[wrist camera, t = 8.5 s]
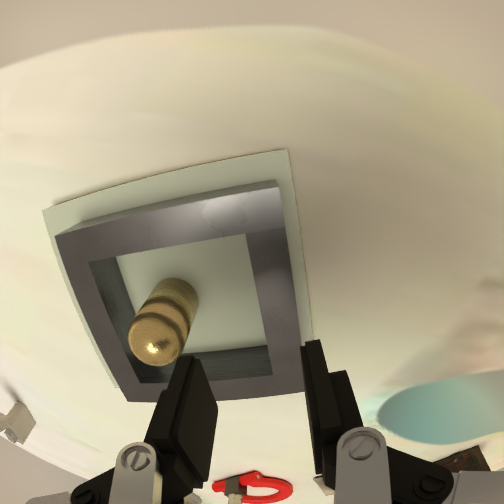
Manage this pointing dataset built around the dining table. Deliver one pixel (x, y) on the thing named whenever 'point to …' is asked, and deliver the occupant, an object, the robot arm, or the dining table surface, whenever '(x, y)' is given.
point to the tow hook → (238, 486)
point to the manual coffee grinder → (466, 461)
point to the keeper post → (164, 322)
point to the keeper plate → (198, 251)
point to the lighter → (17, 423)
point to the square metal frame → (182, 232)
